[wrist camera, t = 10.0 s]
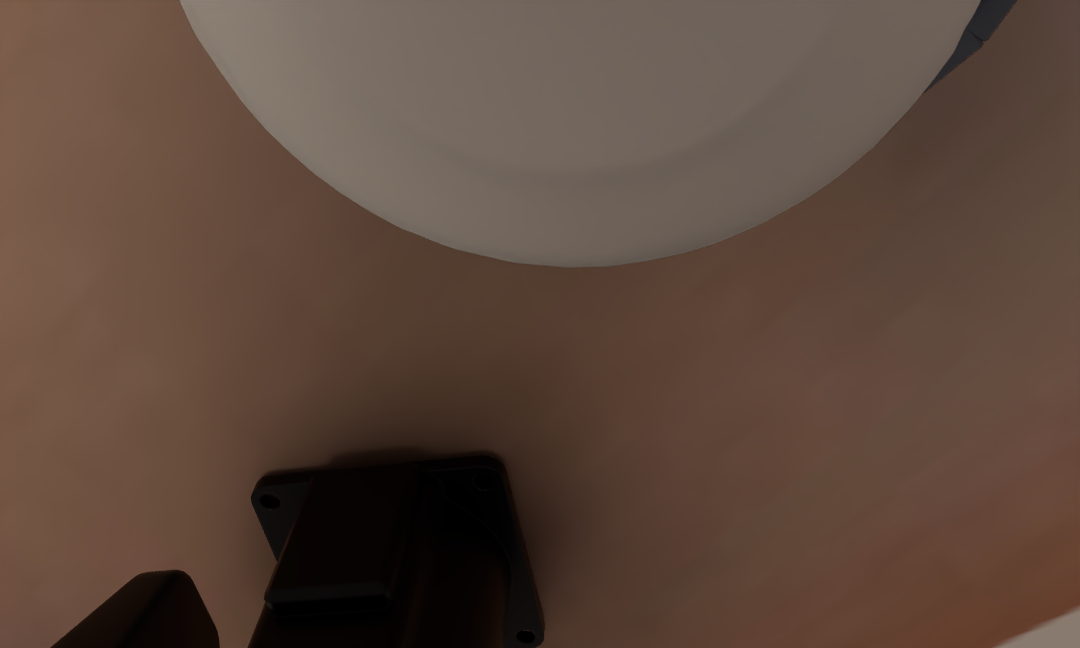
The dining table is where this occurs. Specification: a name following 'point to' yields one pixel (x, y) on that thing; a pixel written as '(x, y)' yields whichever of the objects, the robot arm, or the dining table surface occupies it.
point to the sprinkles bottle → (578, 109)
